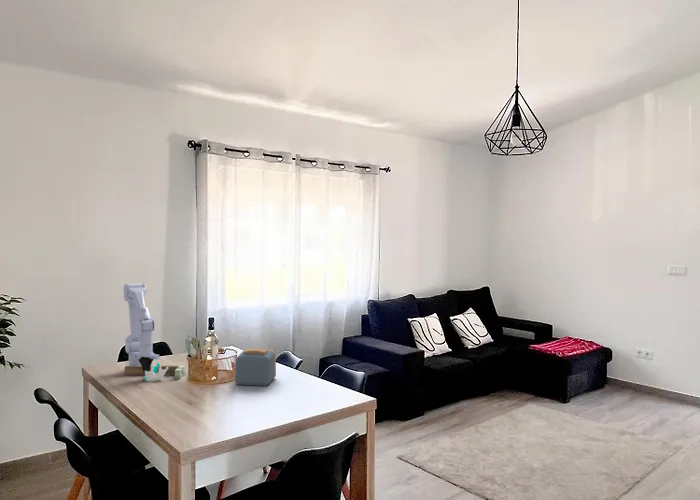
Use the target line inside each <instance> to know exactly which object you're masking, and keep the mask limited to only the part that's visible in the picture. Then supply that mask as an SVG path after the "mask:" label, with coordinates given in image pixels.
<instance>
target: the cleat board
mask: <svg viewBox="0 0 700 500" xmlns="http://www.w3.org/2000/svg"><path fill="white" fill-rule="evenodd" d="M160 366H161V368H162V370H164V369H166V367H168V370H167V371H166V373H165V374H164V376H174V379H175V380H176V379H177V380H180V379H182V378H183V377H184V376H185V374H186V365H159V366H158V369H157V372H156V374H157V373H158V371H159V367H160ZM150 370H151V365H150V369H149V372H150ZM124 376H145V373H143V369H142V366H129V365H125V366H124Z"/></svg>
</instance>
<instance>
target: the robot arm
mask: <svg viewBox="0 0 700 500" xmlns="http://www.w3.org/2000/svg"><path fill="white" fill-rule="evenodd" d="M146 294H147V286H146V283H144V282H142V283H125V284H124V285H123V299H124V301H125V302H127V304H128V314H129V326H130V334H129V335H128V336H126V337H125V344H124V348H125V352H126V353H127V354H128V366H142V369H143V373H145V371H147V372H149V369H150V366H151V363H153V362H154V360H155V361H157V360H160V354H156V353H154V351H153V333H154V330H155V321H154V318H152V317H151V313H150V310H149V308H148V307H146V304H145V297H146Z"/></svg>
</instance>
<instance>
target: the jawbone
mask: <svg viewBox="0 0 700 500" xmlns="http://www.w3.org/2000/svg"><path fill="white" fill-rule="evenodd" d="M156 363H157V364H156V365H154V363H153V362H152V363H151V365H150V366H151V370H150V372H147V371H145V375H144V377H143V380H146V381H156V380H159V381H161V380H163V379H164V377H165V375H164V374H165V373H166V371H167V370H168V367H166V369H164V370H162V368H161V366H162V365H161V362H156ZM158 366H160V367H159V371H158V373H157V374H156V372H157V369H158Z"/></svg>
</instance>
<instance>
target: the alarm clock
mask: <svg viewBox="0 0 700 500" xmlns="http://www.w3.org/2000/svg"><path fill="white" fill-rule="evenodd" d="M276 355H277V354H276V351H275V350H274V349H271V348H270V349H269V348H263V347H262V348H261V347H252V348H251V347H250V348H245V349H244V350H242V351H241V353H240V354H239V355H238V356H237V357H236V358H235V369H234V370H235V372H234V374H235V375H234V382H235V385H237V386H238V385H239V386H260V387H266V386H269V384H270V383H271V382H273V380H274V379H275V378H276V376H277V368H276V367H277V363H276V361H277V359H276V358H277V357H276Z"/></svg>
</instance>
